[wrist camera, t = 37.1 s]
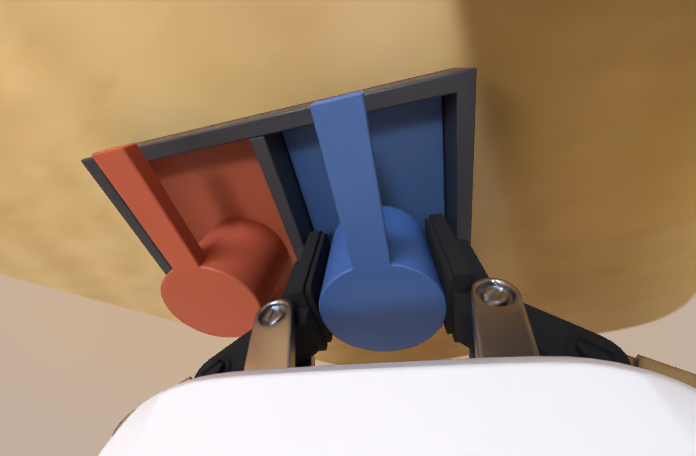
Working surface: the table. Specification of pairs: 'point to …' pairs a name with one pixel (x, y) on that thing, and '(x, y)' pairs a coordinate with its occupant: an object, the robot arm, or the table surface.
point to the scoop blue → (371, 244)
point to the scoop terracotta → (200, 252)
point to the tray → (318, 165)
